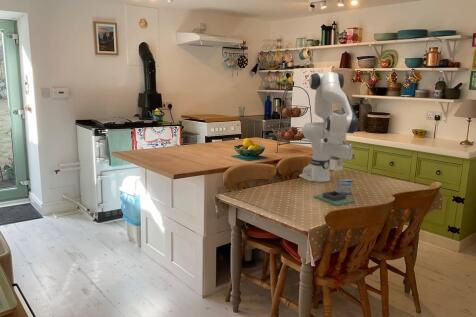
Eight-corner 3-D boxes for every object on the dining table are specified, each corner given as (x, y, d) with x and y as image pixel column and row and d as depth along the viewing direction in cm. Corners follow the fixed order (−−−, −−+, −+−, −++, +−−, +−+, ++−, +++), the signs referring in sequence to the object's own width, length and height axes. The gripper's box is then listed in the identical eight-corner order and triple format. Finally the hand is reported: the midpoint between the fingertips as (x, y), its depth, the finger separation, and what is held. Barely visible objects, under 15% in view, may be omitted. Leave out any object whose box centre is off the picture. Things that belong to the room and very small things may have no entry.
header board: (313, 197, 225) (314, 191, 225) (331, 194, 232) (332, 188, 232) (336, 206, 210) (336, 199, 210) (354, 202, 217) (355, 196, 217)
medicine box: (339, 195, 231) (340, 181, 229) (336, 193, 235) (336, 179, 233) (351, 194, 232) (352, 180, 230) (348, 192, 236) (349, 178, 235)
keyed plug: (329, 169, 218) (330, 157, 217) (337, 168, 221) (337, 156, 220) (334, 170, 214) (335, 158, 213) (342, 169, 218) (343, 157, 216)
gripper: (356, 142, 207) (354, 167, 210) (328, 137, 225) (327, 161, 227) (347, 143, 204) (346, 169, 207) (320, 138, 221) (319, 162, 224)
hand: (336, 164), depth 217 cm, fingers closed on keyed plug, 4 cm apart
